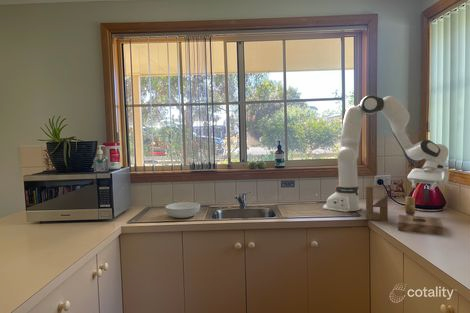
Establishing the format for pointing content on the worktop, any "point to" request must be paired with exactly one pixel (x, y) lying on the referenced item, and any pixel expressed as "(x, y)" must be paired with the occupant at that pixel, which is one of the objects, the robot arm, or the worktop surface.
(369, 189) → the wooden braced stand
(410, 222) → the board
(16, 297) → the worktop surface
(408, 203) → the peg
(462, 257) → the worktop surface
